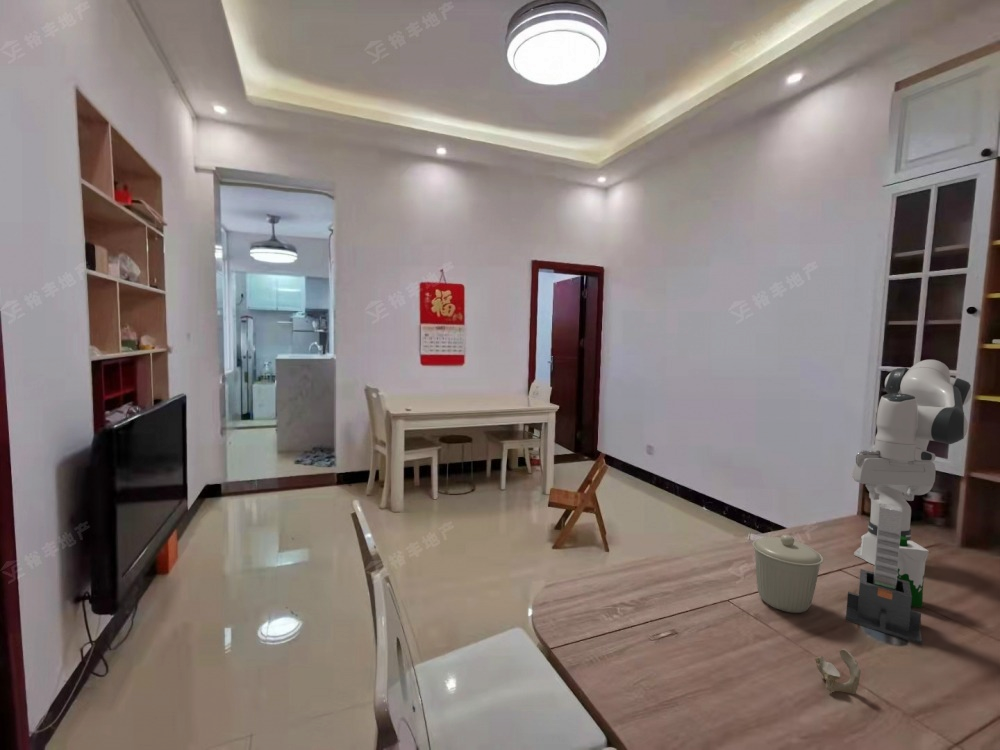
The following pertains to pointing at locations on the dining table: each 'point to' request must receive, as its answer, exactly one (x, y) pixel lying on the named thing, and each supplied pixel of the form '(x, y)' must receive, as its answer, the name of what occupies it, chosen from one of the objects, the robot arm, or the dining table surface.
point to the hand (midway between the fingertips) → (891, 499)
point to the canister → (786, 572)
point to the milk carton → (912, 568)
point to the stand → (884, 608)
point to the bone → (833, 674)
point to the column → (887, 546)
